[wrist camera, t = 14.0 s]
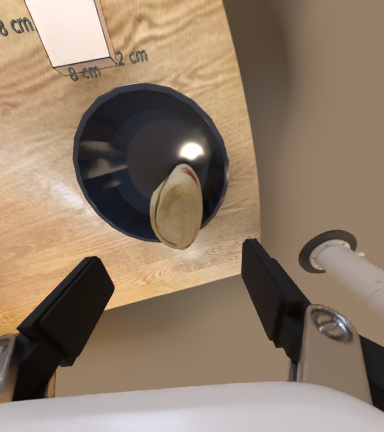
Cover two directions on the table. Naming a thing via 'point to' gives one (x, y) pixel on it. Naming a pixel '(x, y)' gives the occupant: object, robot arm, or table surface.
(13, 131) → the table surface
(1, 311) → the table surface
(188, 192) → the food model
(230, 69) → the table surface
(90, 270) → the robot arm
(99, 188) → the pot
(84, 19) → the container
